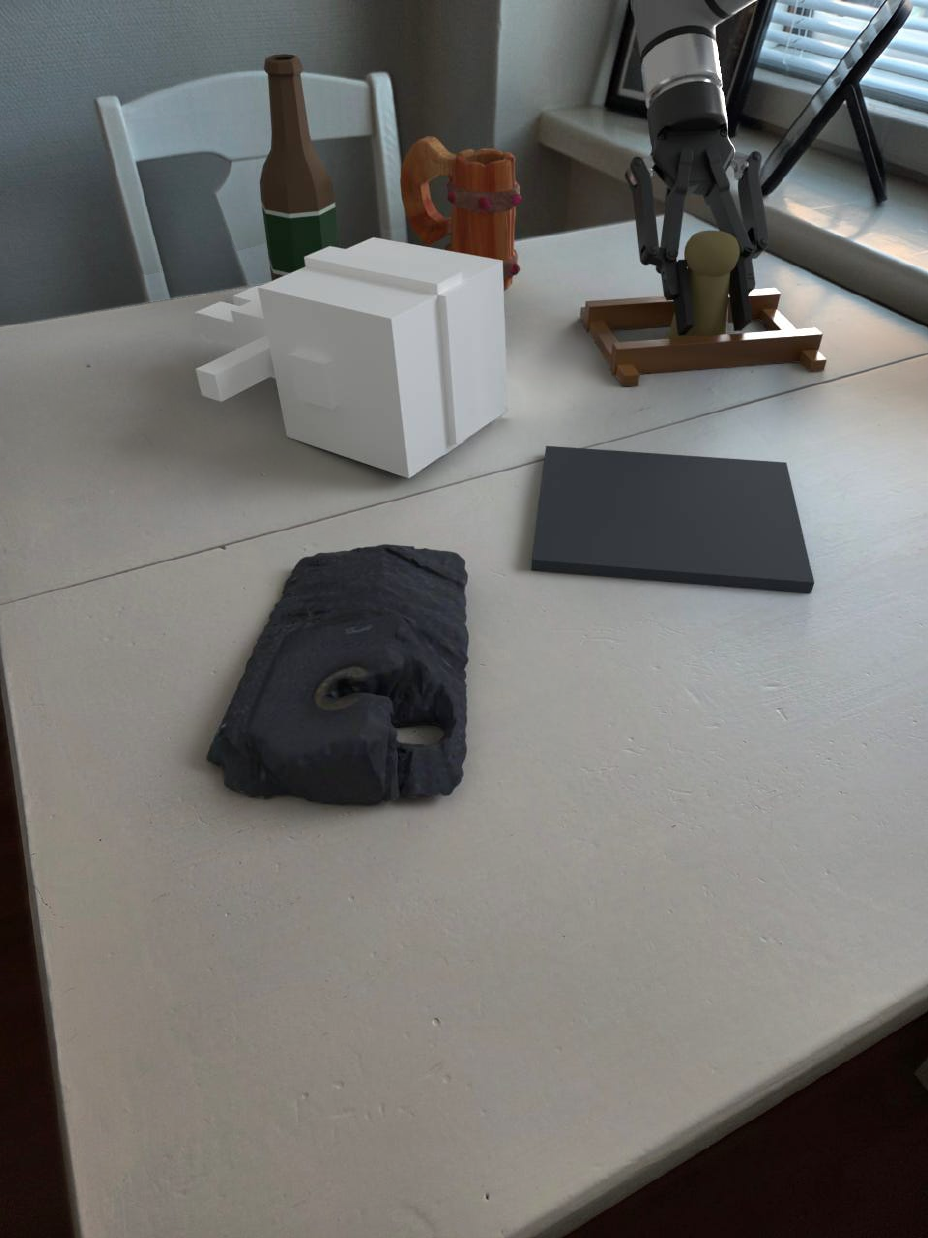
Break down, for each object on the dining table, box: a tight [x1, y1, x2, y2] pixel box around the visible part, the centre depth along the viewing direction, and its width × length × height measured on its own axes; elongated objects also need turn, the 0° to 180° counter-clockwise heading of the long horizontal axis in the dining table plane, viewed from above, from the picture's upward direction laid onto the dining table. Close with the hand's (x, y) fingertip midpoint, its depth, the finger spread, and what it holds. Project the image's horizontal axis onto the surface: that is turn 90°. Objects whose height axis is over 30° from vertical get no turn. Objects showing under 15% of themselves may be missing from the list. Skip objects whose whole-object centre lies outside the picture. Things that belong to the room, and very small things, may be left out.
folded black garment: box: [205, 543, 470, 807], centre depth 60 cm, size 15×22×5 cm
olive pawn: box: [666, 229, 740, 339], centre depth 94 cm, size 6×6×11 cm
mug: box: [399, 135, 523, 291], centre depth 104 cm, size 15×8×15 cm, turn 59°
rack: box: [579, 287, 828, 388], centre depth 97 cm, size 16×21×3 cm
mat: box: [530, 445, 815, 594], centre depth 74 cm, size 20×16×1 cm
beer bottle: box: [259, 53, 340, 281], centre depth 97 cm, size 8×8×24 cm
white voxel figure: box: [195, 236, 509, 479], centre depth 83 cm, size 15×25×28 cm
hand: (714, 327), depth 93 cm, fingers closed on olive pawn, 5 cm apart
